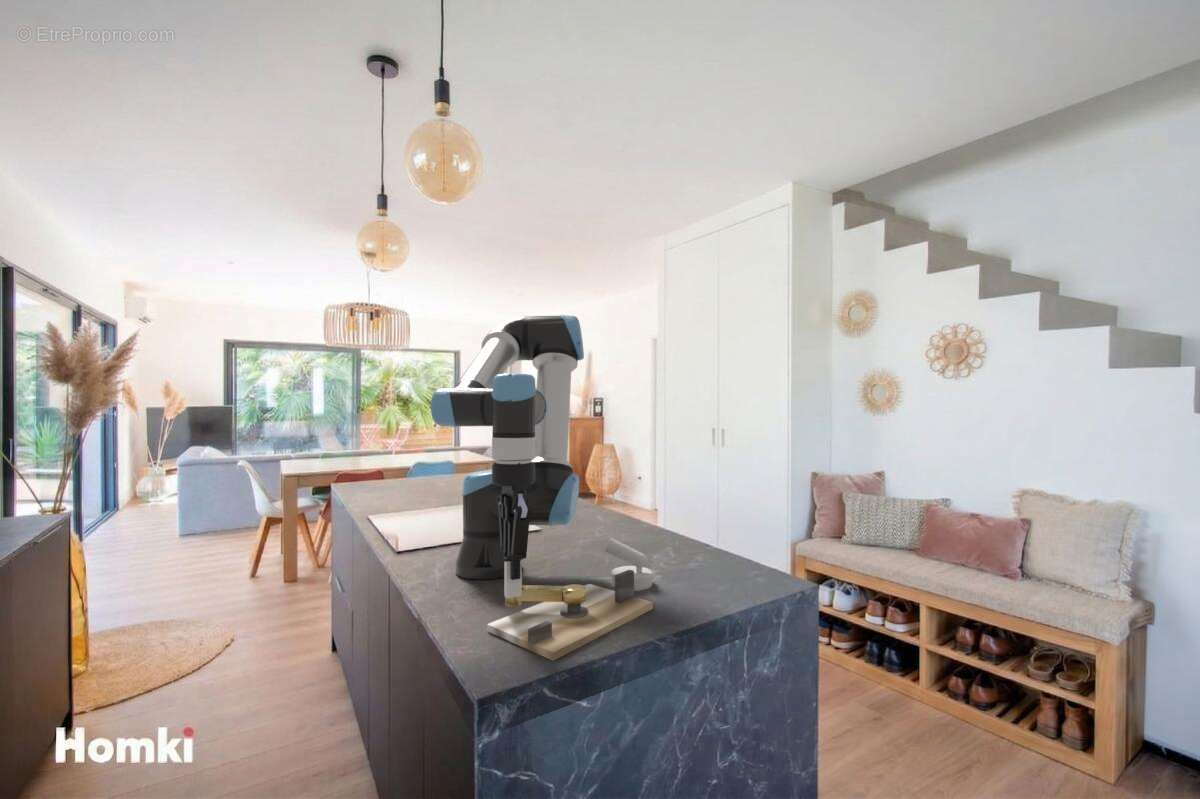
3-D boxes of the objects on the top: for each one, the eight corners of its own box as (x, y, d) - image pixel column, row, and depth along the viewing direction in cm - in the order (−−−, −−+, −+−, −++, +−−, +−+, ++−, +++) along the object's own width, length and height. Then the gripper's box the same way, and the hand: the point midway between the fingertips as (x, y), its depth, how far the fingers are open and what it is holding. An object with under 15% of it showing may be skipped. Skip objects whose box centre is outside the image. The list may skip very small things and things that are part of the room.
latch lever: (587, 601, 96) (587, 573, 96) (585, 610, 91) (584, 581, 91) (508, 599, 97) (508, 572, 97) (502, 608, 92) (501, 580, 93)
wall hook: (608, 533, 118) (653, 535, 116) (609, 575, 118) (653, 578, 116) (601, 543, 109) (649, 545, 107) (601, 589, 109) (649, 592, 107)
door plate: (487, 631, 89) (486, 594, 89) (589, 589, 109) (589, 559, 109) (553, 660, 79) (552, 619, 79) (653, 608, 98) (652, 575, 98)
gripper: (546, 463, 88) (545, 604, 88) (522, 457, 100) (521, 582, 99) (503, 465, 85) (502, 612, 85) (483, 459, 97) (482, 588, 96)
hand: (512, 596), depth 92 cm, fingers closed
